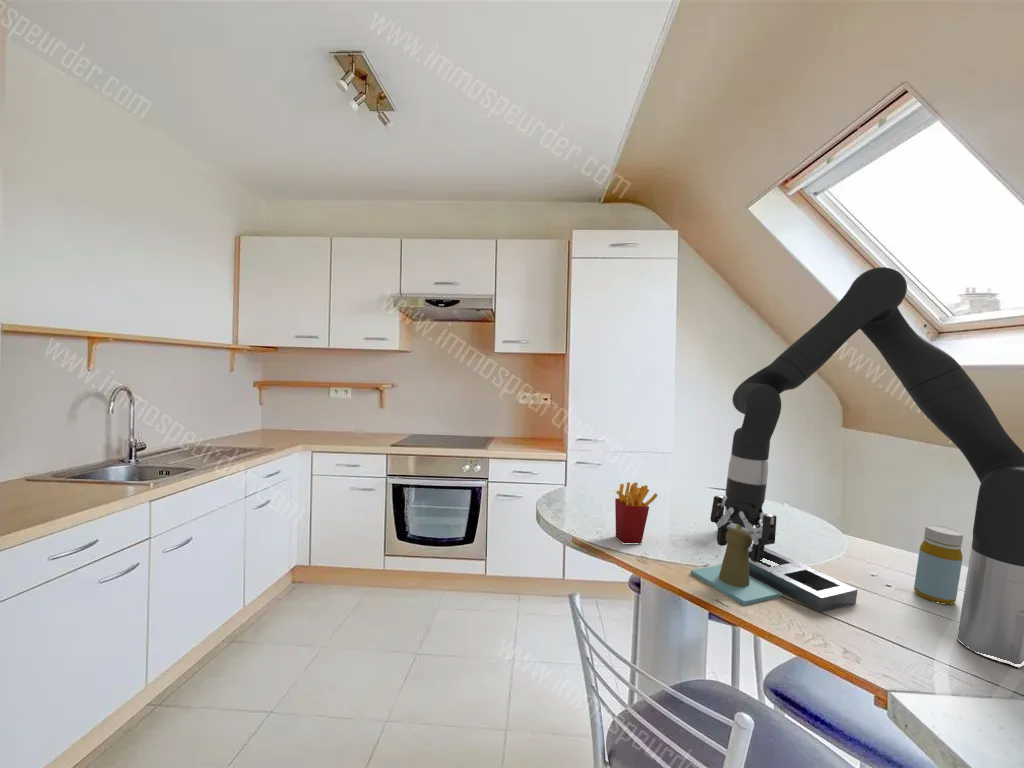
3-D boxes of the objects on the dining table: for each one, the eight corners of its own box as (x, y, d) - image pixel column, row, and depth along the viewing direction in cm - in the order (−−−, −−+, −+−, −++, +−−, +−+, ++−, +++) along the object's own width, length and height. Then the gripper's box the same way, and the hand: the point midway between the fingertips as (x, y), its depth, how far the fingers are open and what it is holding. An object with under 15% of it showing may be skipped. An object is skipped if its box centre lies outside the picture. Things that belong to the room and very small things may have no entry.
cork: (752, 589, 105) (758, 537, 104) (721, 584, 106) (727, 533, 105) (745, 576, 111) (751, 527, 110) (716, 571, 112) (721, 523, 111)
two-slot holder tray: (855, 603, 104) (857, 589, 103) (819, 612, 99) (821, 598, 98) (758, 556, 124) (759, 545, 124) (724, 562, 119) (725, 550, 119)
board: (781, 596, 104) (781, 593, 104) (744, 605, 99) (744, 601, 99) (726, 567, 117) (726, 563, 117) (690, 573, 112) (691, 570, 112)
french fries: (621, 545, 125) (626, 486, 123) (608, 532, 133) (613, 477, 131) (654, 545, 126) (660, 487, 125) (639, 532, 134) (645, 477, 133)
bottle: (939, 606, 105) (950, 536, 104) (905, 590, 112) (915, 524, 110) (963, 604, 107) (974, 535, 106) (928, 588, 114) (938, 523, 112)
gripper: (790, 486, 101) (780, 564, 103) (731, 468, 114) (723, 538, 115) (764, 489, 98) (754, 569, 99) (707, 469, 111) (699, 541, 112)
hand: (738, 552), depth 107 cm, fingers open, 8 cm apart
